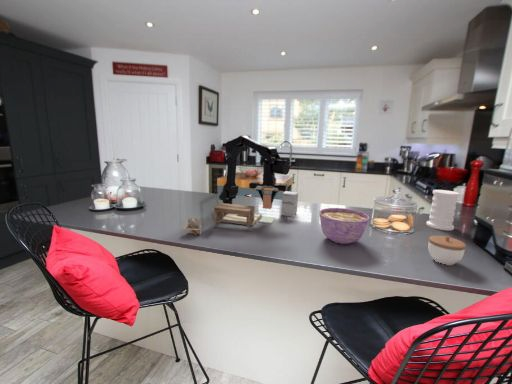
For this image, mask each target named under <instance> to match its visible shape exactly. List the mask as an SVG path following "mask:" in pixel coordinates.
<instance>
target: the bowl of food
mask: <svg viewBox="0 0 512 384" xmlns="http://www.w3.org/2000/svg"><path fill="white" fill-rule="evenodd" d="M318 215H319V220H320V227H321V231H322V233H323V235H324V236H325V237H326V238H328V239H329V240H331V241H332V242H333V241H334V243H336V244H339V243H340V245H349V244H351V243H355V242H357V241H359V240H360V239H361V238H362V237H363V235H364V232H365V230H366V228H367V226H368V222H369V220H370V216H369V215H368V214H366V213H365V212H363V211H359V210H355V209H350V208H342V207H341V208H340V207H328V208H323V209H321V210H319V211H318Z"/></svg>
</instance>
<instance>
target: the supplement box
mask: <svg viewBox="0 0 512 384" xmlns="http://www.w3.org/2000/svg"><path fill="white" fill-rule="evenodd" d="M281 197H282V198H281V213H280V215H281V216H287V217H292V216H294V217H295V216H296V215H297V214H296V213H297V211H298V199H299V192H297V191H290V190H289V191H288V190H286V191H283V192H282V196H281ZM295 214H296V215H295Z"/></svg>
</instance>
